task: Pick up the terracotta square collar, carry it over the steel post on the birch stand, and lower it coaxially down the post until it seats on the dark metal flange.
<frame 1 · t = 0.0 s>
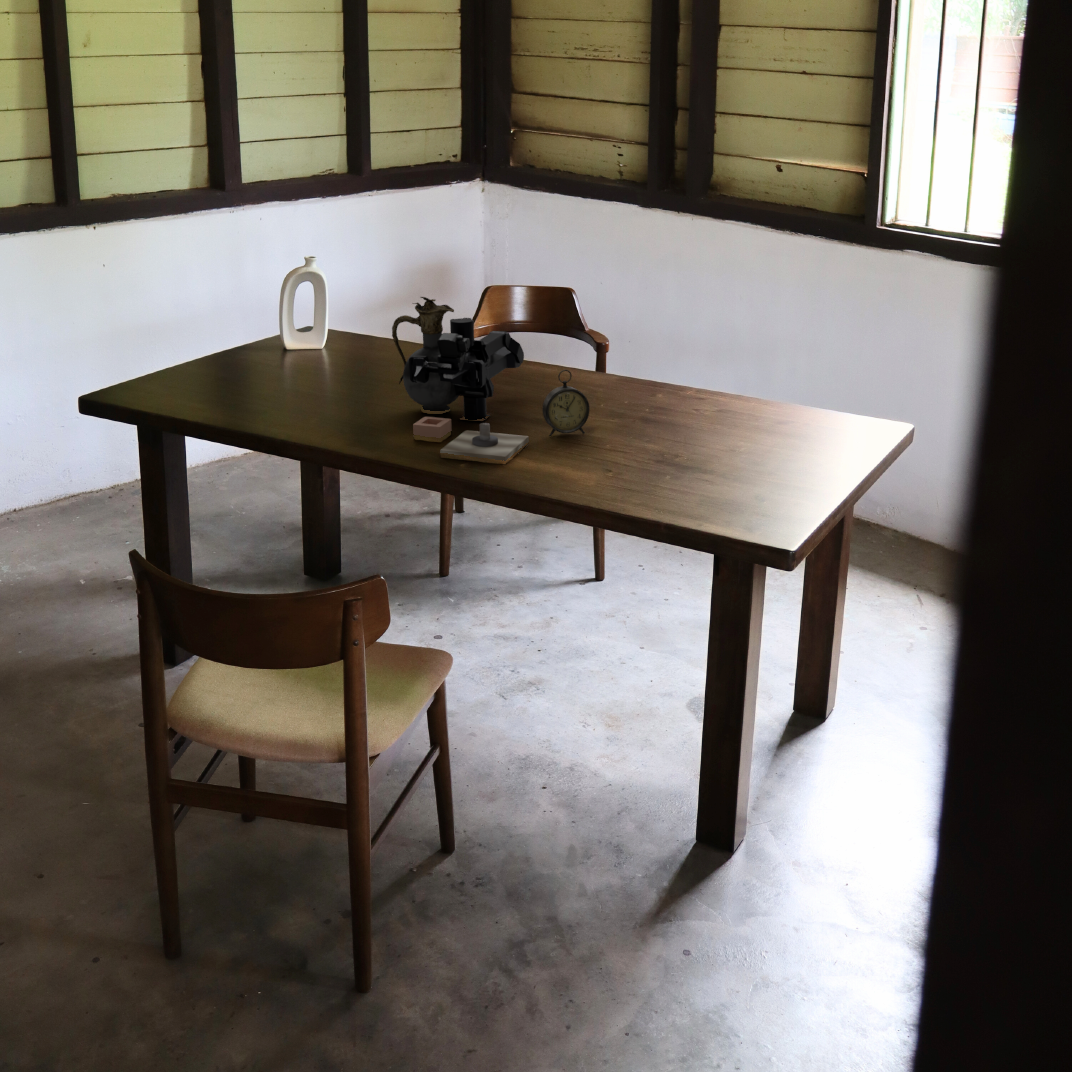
hand: (433, 379, 273), 17 cm above the table, tool horizontal, fingers open, 9 cm apart
collar: (432, 437, 287), on the table
post stand: (485, 451, 277), on the table
alarm clock: (565, 435, 289), on the table
pitcher: (429, 411, 309), on the table
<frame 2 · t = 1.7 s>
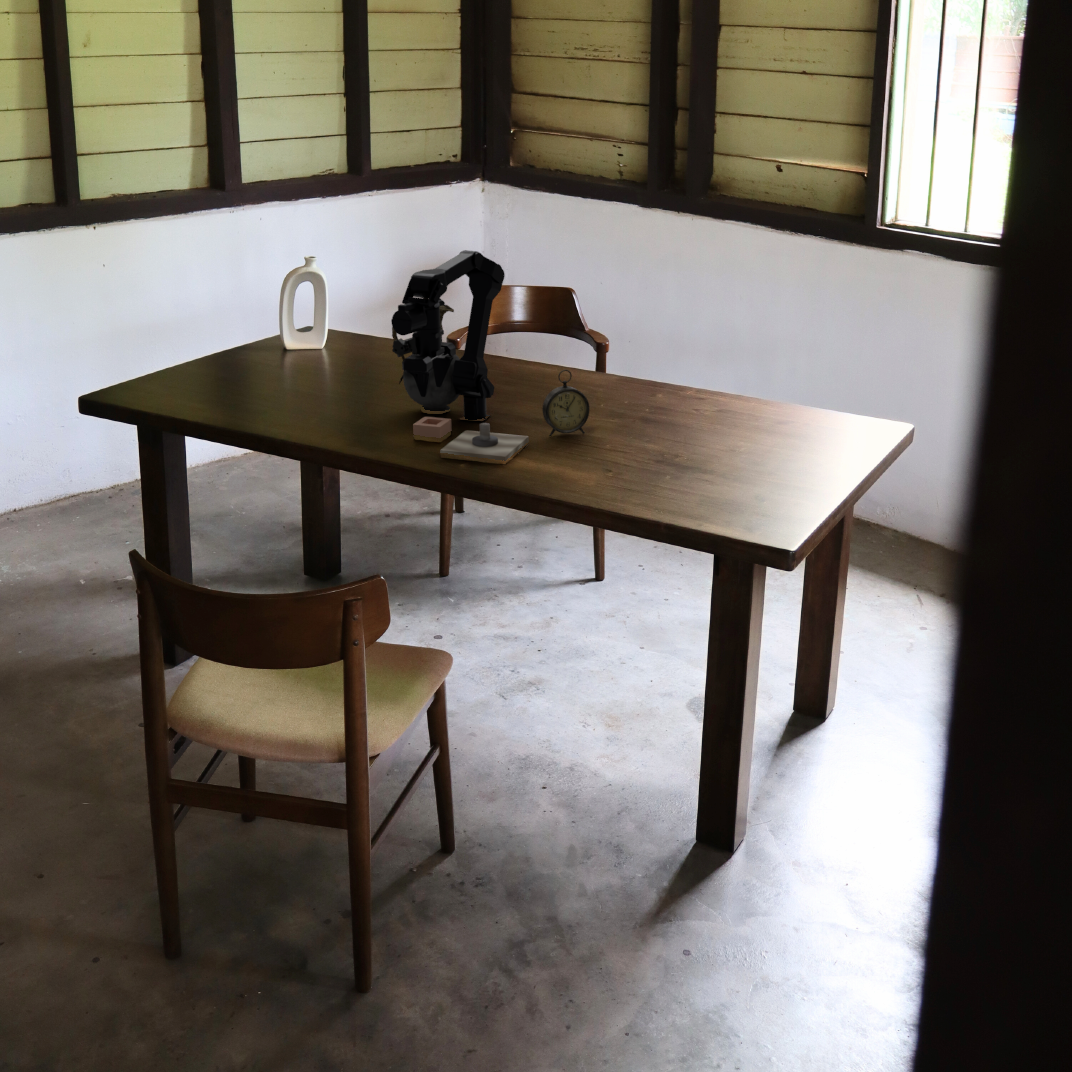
hand: (431, 391, 283), 11 cm above the table, tool pointing down, fingers open, 9 cm apart
nothing on the table moved.
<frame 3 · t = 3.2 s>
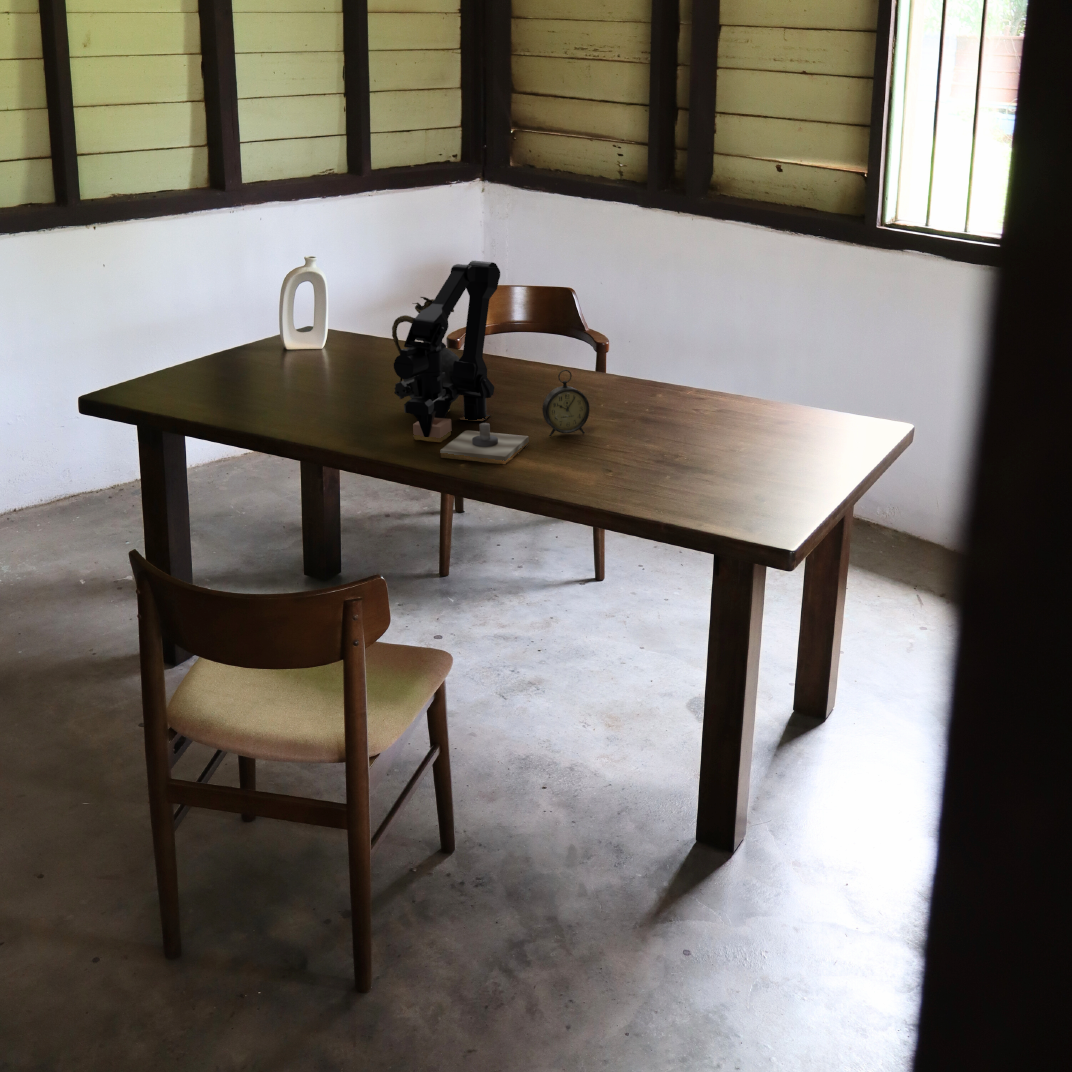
hand: (432, 432, 287), 1 cm above the table, tool pointing down, fingers closed on collar, 7 cm apart
collar: (432, 437, 287), on the table, touching gripper
everything else where it was.
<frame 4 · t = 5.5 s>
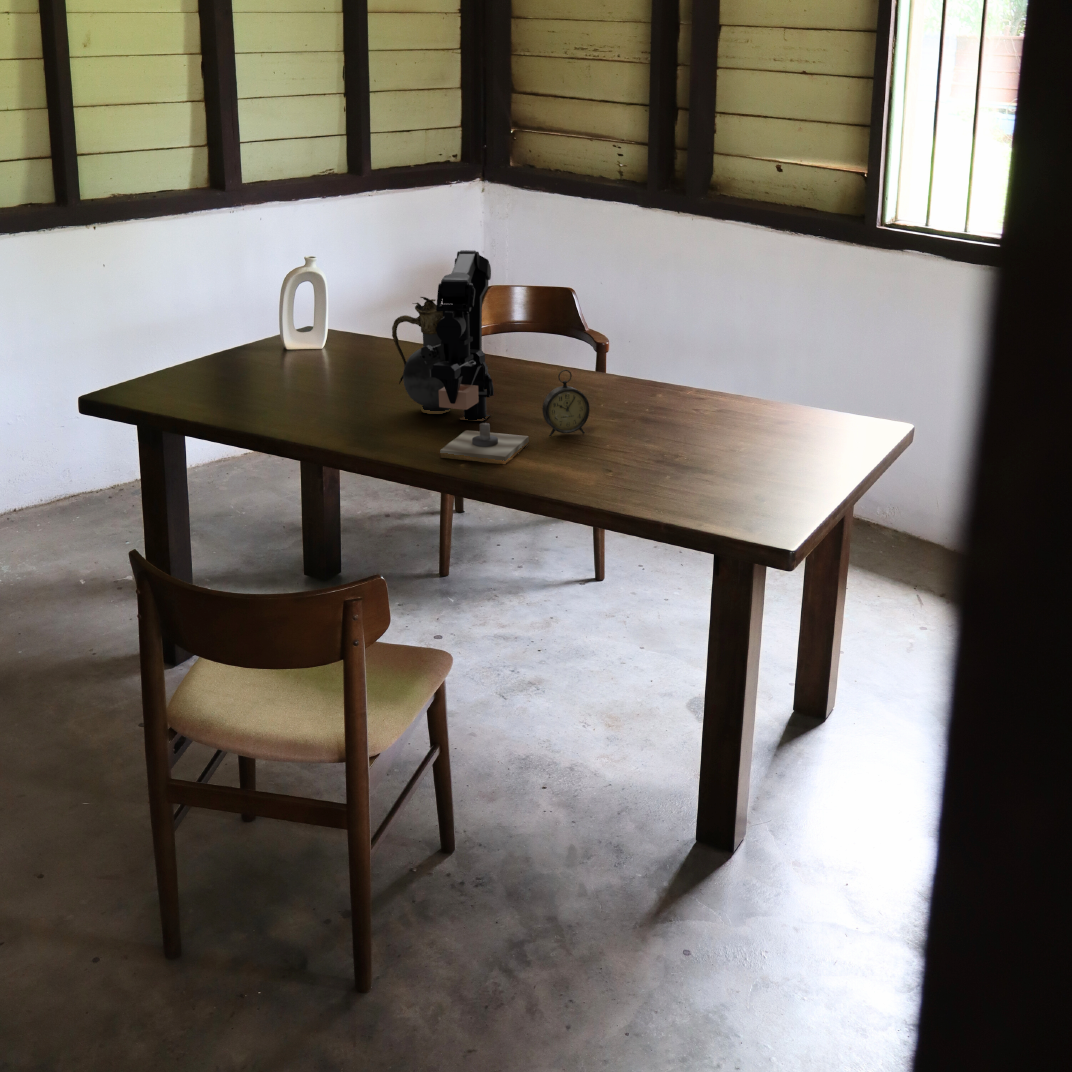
hand: (459, 399, 277), 11 cm above the table, tool pointing down, fingers closed on collar, 7 cm apart
collar: (459, 404, 278), point 10 cm above the table, touching gripper
everything else where it was.
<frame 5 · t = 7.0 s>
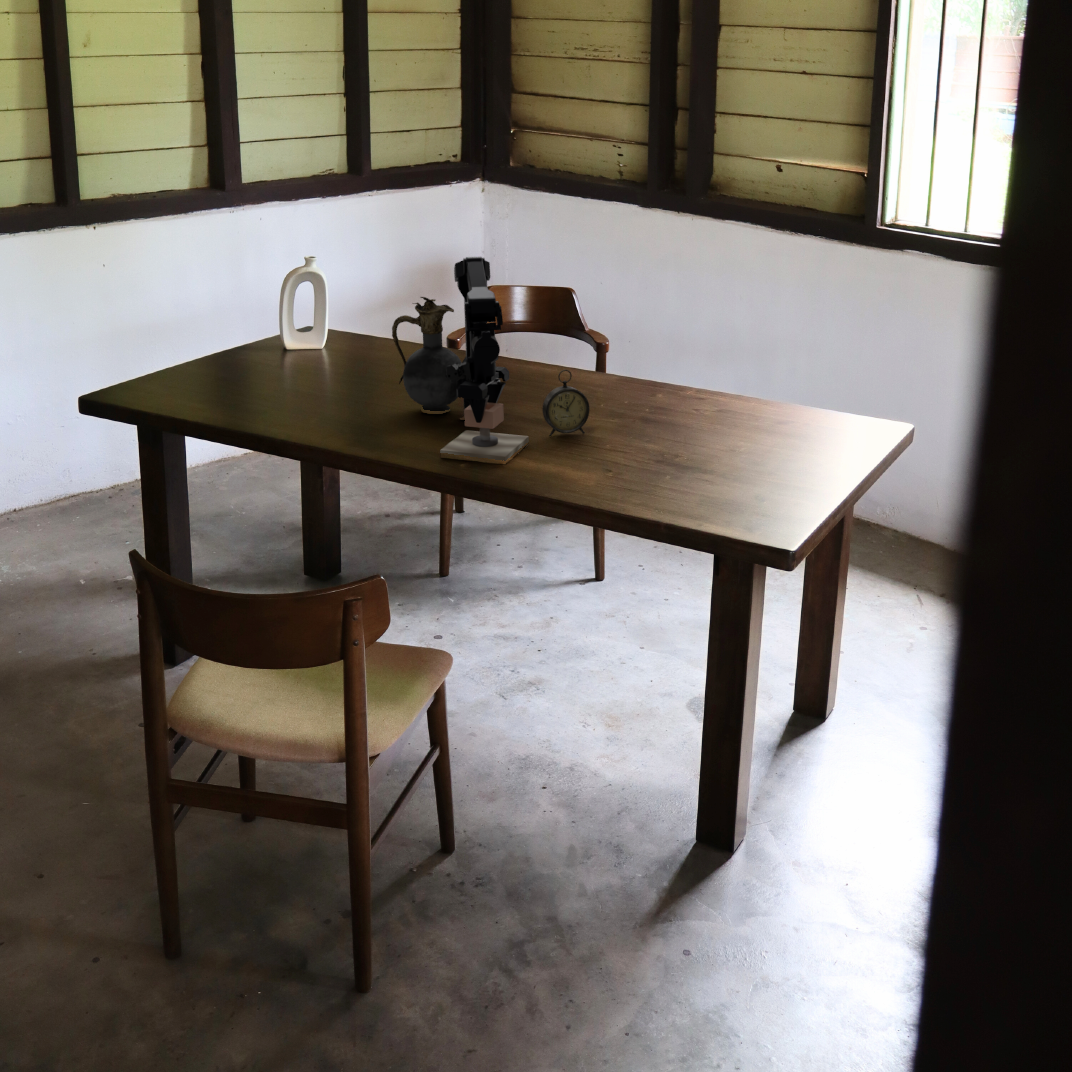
hand: (484, 418, 274), 8 cm above the table, tool pointing down, fingers closed on collar, 7 cm apart
collar: (484, 423, 275), point 7 cm above the table, touching gripper
everything else where it was.
when the fingers open (5 cm above the table, at t = 8.0 s): collar drops 1 cm, resting on post stand.
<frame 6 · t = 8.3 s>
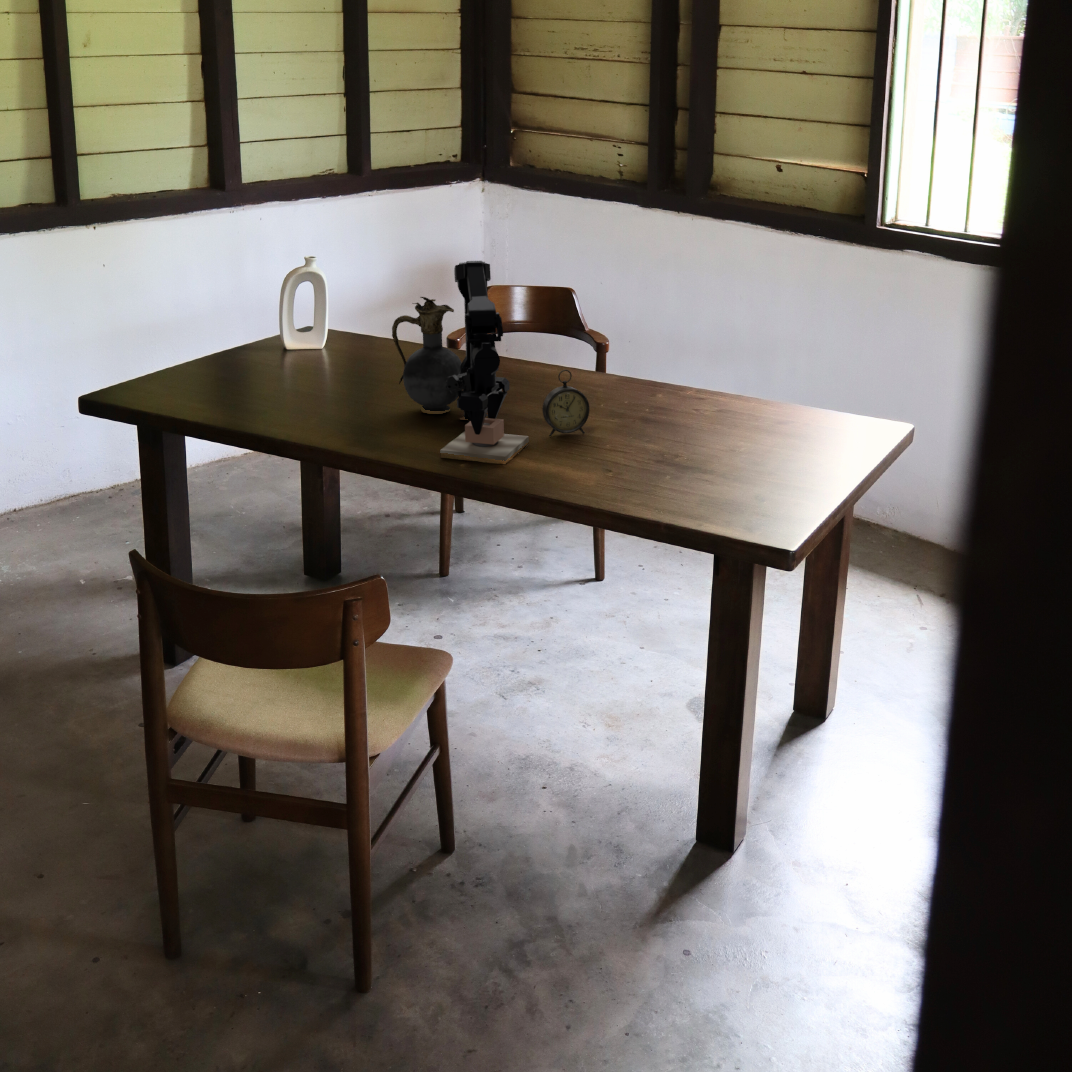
hand: (484, 428, 275), 5 cm above the table, tool pointing down, fingers open, 9 cm apart
collar: (484, 438, 276), point 3 cm above the table, touching post stand
everything else where it was.
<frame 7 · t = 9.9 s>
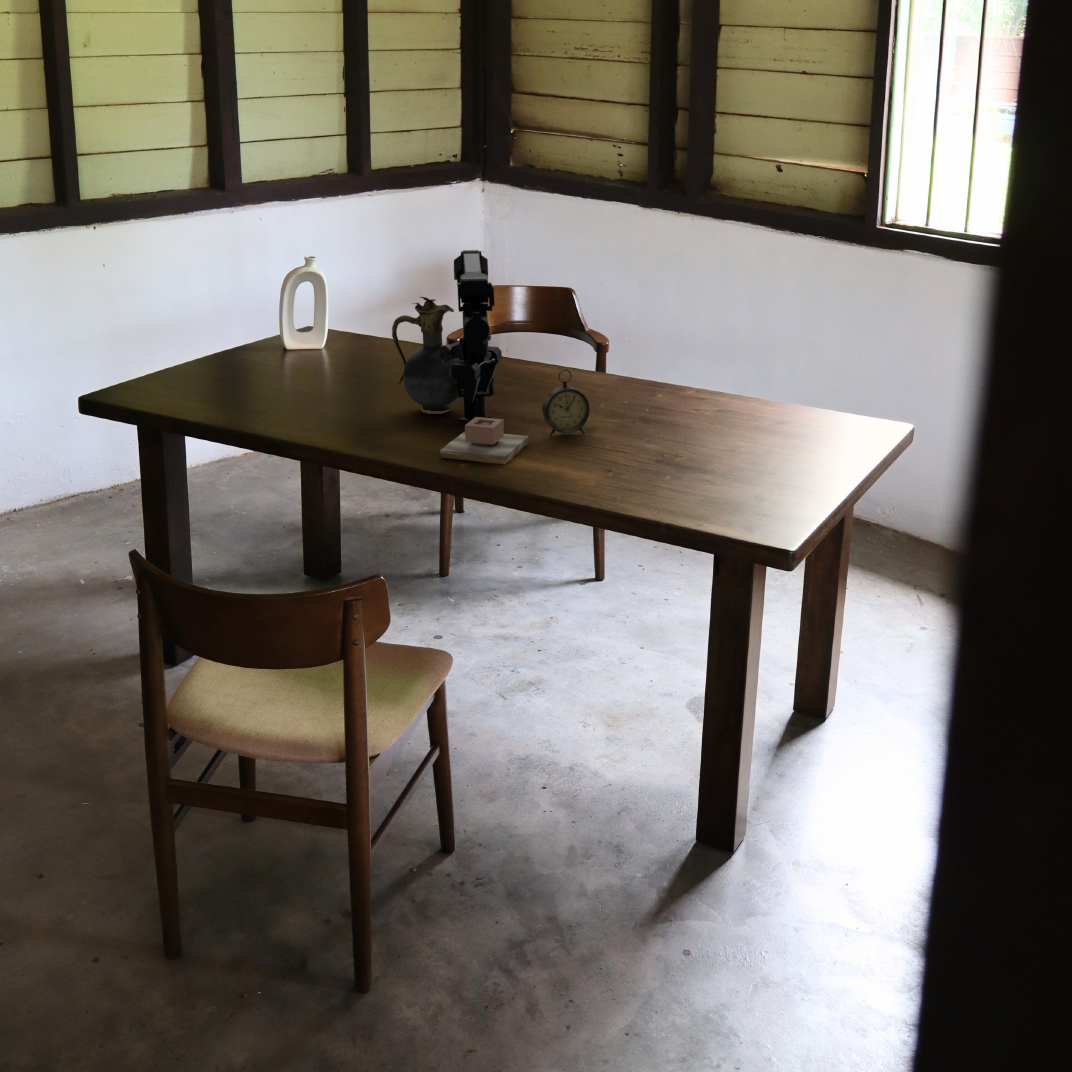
hand: (477, 397, 278), 11 cm above the table, tool pointing down, fingers open, 9 cm apart
nothing on the table moved.
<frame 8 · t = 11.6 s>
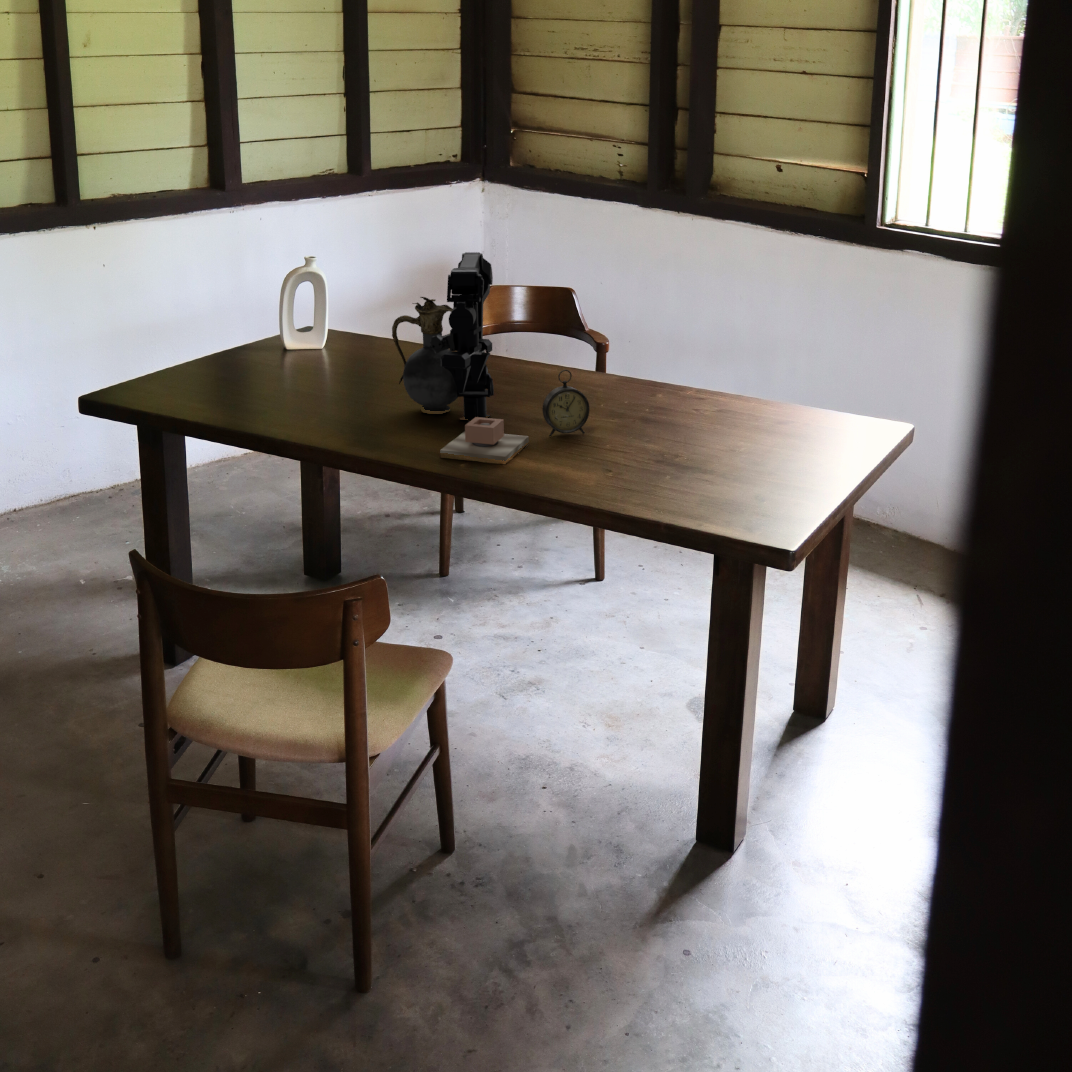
hand: (468, 387, 284), 12 cm above the table, tool pointing down, fingers open, 9 cm apart
nothing on the table moved.
at the end: collar 0.1 cm off-centre on the post stand, point 3.0 cm above the post stand's base; collar tilted 0°; the gripper is holding nothing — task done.
